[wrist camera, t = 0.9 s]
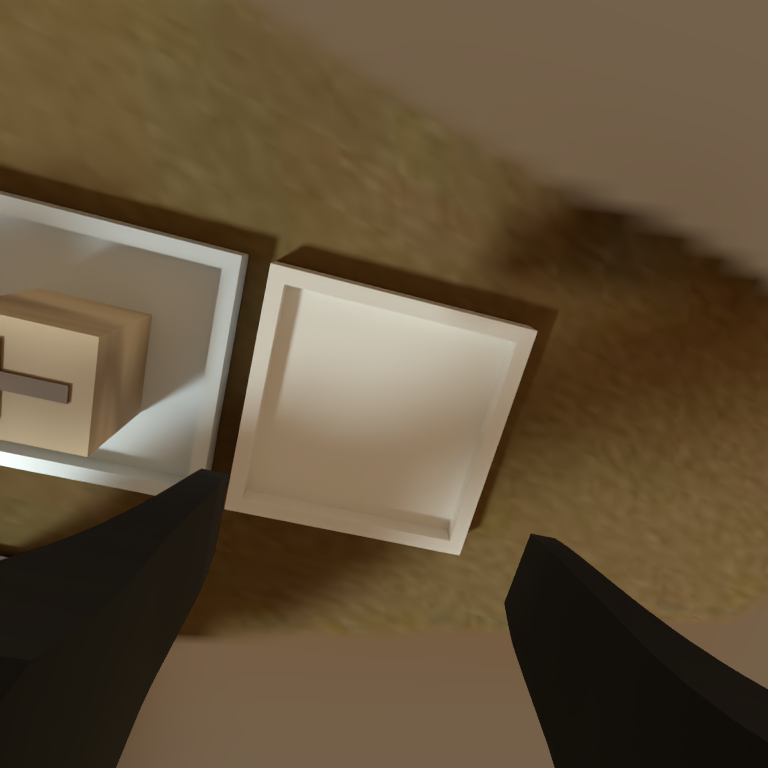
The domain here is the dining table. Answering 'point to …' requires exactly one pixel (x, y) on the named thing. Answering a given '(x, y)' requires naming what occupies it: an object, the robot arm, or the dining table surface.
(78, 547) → the robot arm
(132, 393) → the letter cube
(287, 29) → the dining table surface
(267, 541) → the dining table surface
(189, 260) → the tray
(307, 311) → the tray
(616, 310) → the dining table surface
